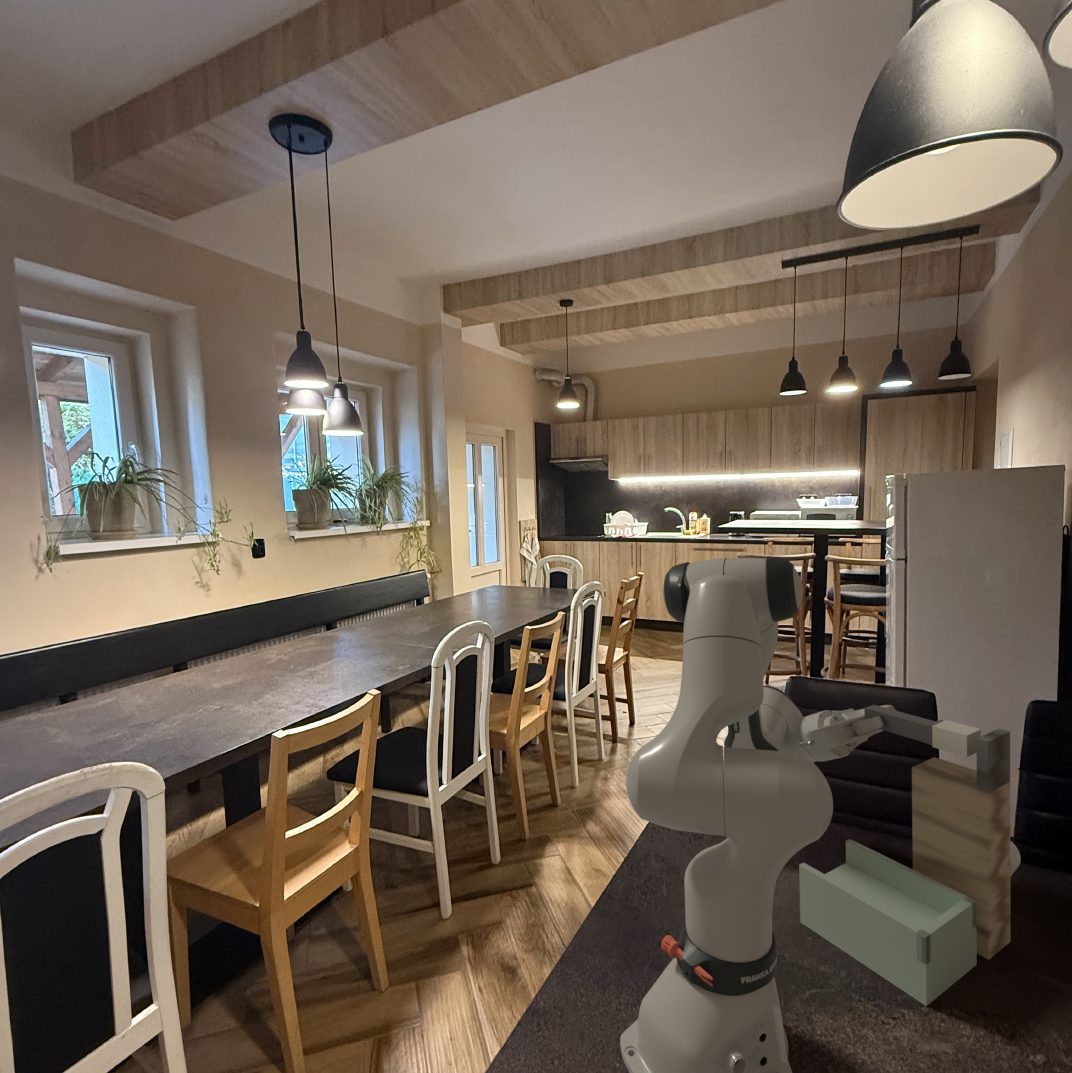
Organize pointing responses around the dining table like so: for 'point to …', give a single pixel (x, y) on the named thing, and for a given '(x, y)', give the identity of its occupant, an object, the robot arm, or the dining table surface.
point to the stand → (968, 833)
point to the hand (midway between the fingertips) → (890, 717)
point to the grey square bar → (929, 730)
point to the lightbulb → (1014, 858)
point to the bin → (892, 920)
